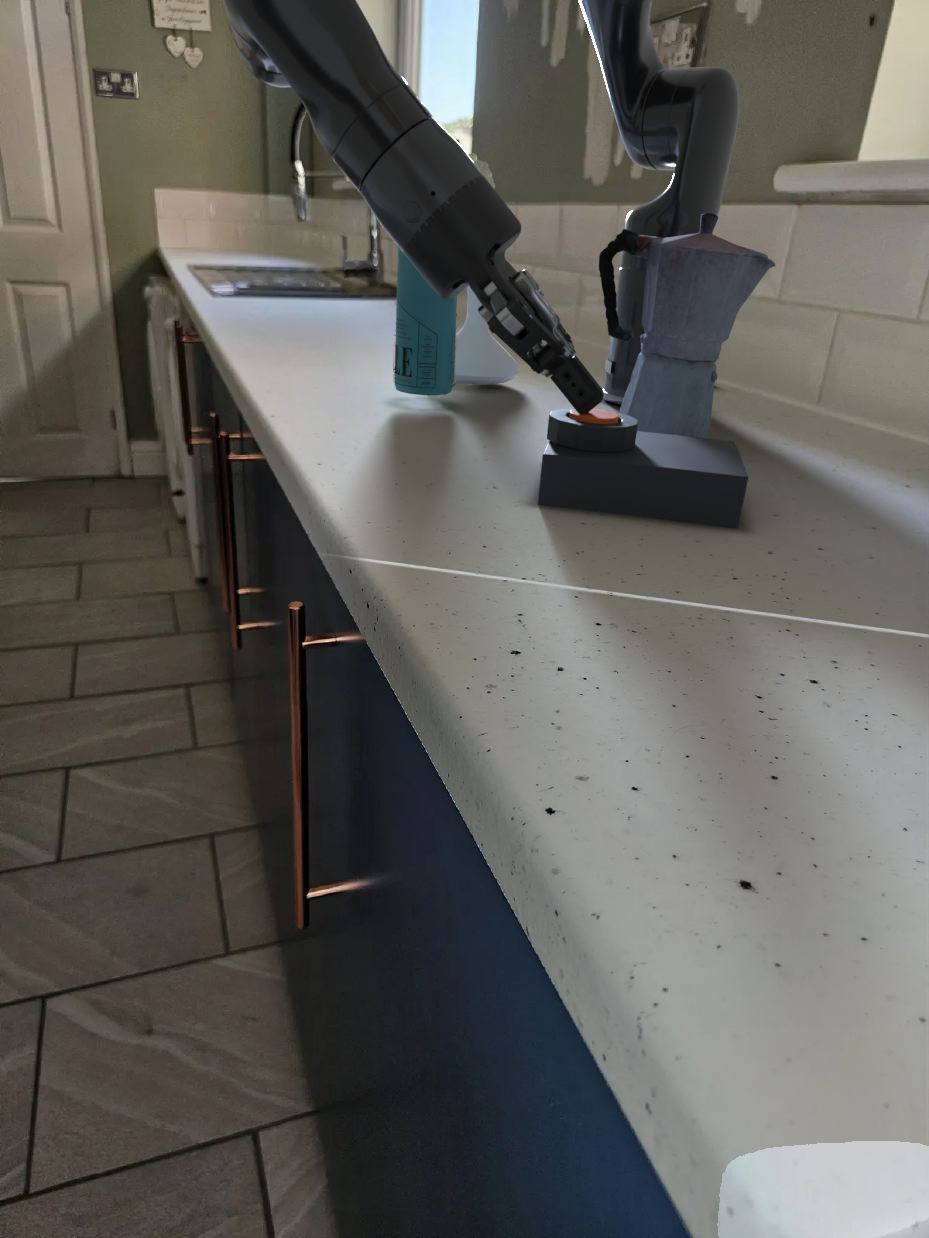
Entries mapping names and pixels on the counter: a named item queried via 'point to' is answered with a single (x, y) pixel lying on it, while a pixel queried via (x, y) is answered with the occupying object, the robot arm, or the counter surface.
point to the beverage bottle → (423, 335)
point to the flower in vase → (480, 337)
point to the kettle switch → (595, 416)
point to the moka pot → (681, 322)
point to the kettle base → (641, 472)
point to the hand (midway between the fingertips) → (594, 405)
